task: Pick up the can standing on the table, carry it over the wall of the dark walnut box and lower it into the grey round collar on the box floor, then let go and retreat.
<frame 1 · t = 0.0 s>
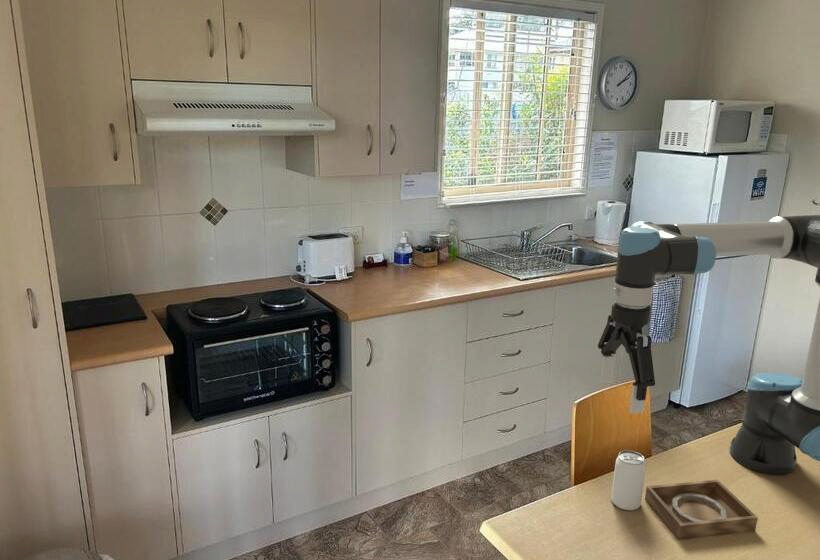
hand: (620, 397, 137), 28 cm above the table, fingers open, 13 cm apart
walled box: (697, 514, 143), on the table
can: (625, 503, 147), on the table
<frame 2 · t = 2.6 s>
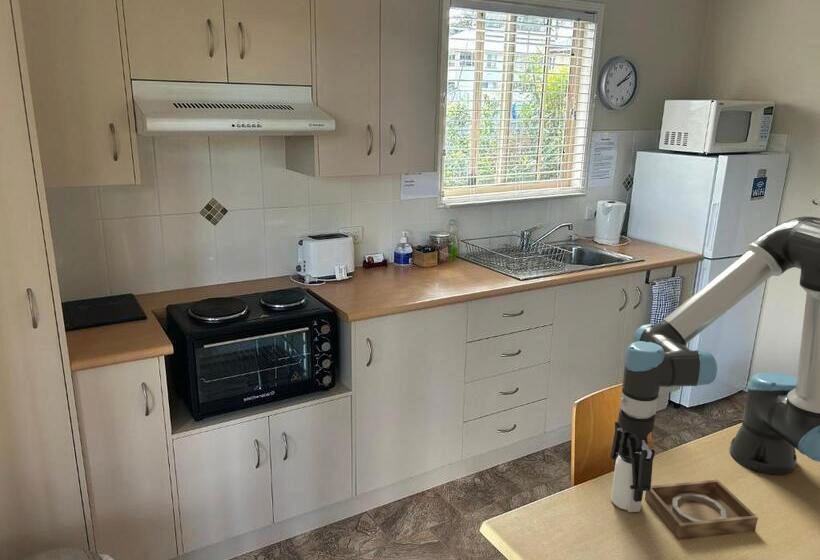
hand: (625, 500, 147), 0 cm above the table, fingers closed on can, 6 cm apart
can: (625, 503, 147), on the table, touching gripper
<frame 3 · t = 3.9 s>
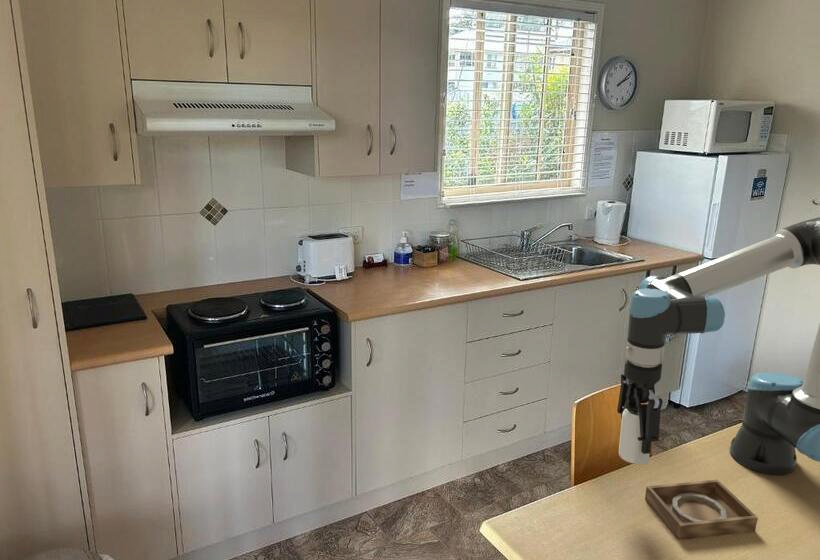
hand: (633, 454, 143), 13 cm above the table, fingers closed on can, 6 cm apart
can: (633, 457, 143), point 12 cm above the table, touching gripper
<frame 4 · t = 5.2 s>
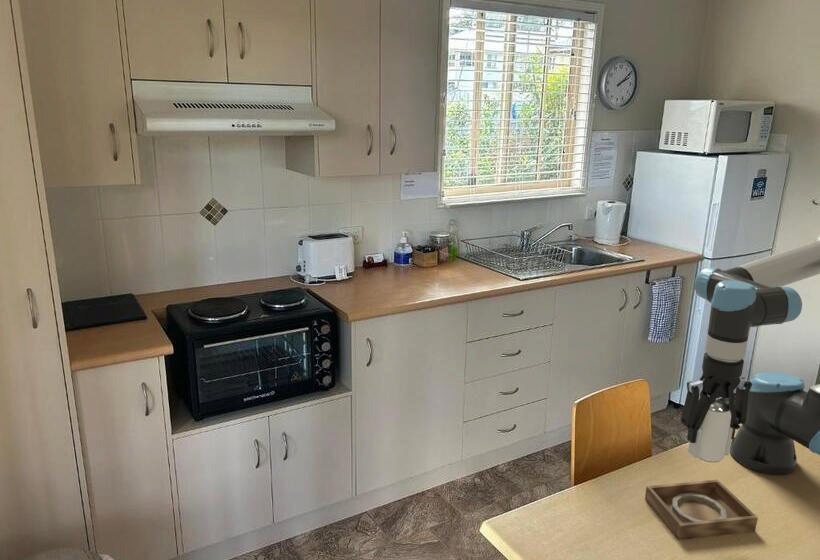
hand: (708, 453, 138), 16 cm above the table, fingers closed on can, 6 cm apart
can: (707, 455, 138), point 15 cm above the table, touching gripper
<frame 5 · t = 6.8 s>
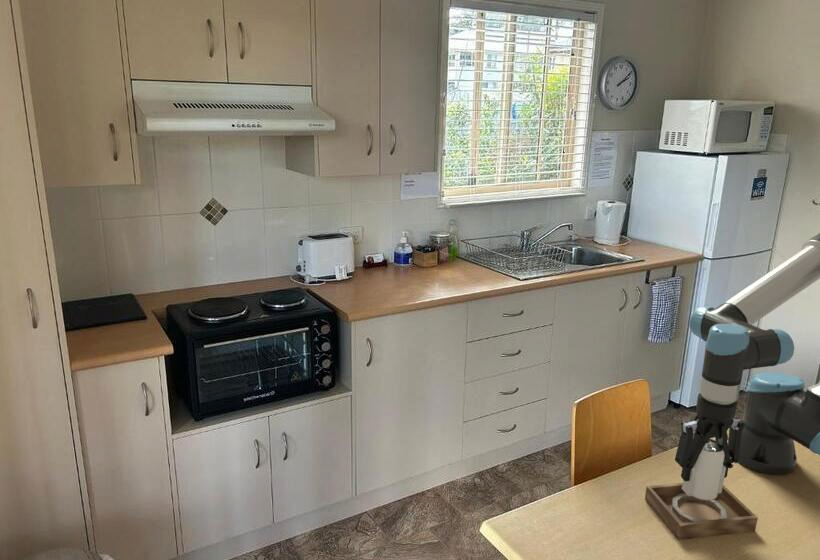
hand: (701, 490, 141), 6 cm above the table, fingers closed on can, 6 cm apart
can: (700, 493, 141), point 6 cm above the table, touching gripper
when the fingers open (3 cm above the table, at t = 7.8 s): can drops 2 cm, resting on walled box.
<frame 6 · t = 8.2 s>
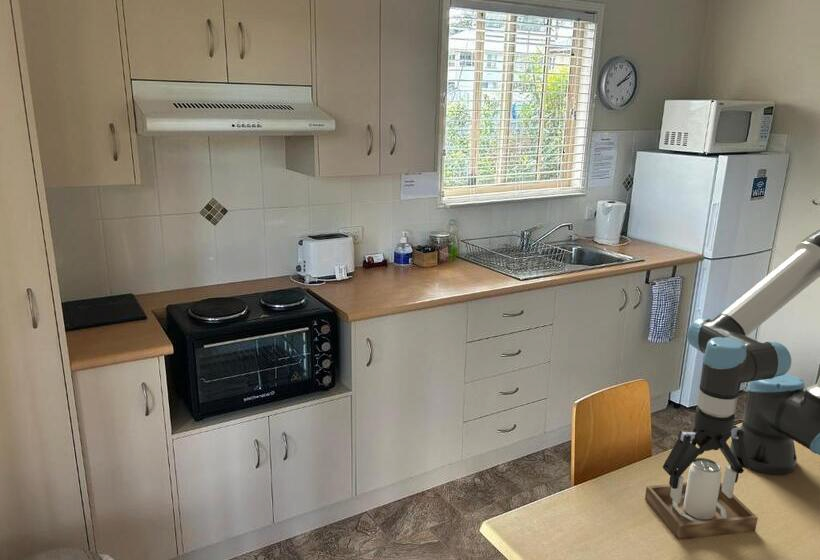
hand: (700, 497, 141), 5 cm above the table, fingers open, 12 cm apart
can: (698, 512, 143), resting on walled box
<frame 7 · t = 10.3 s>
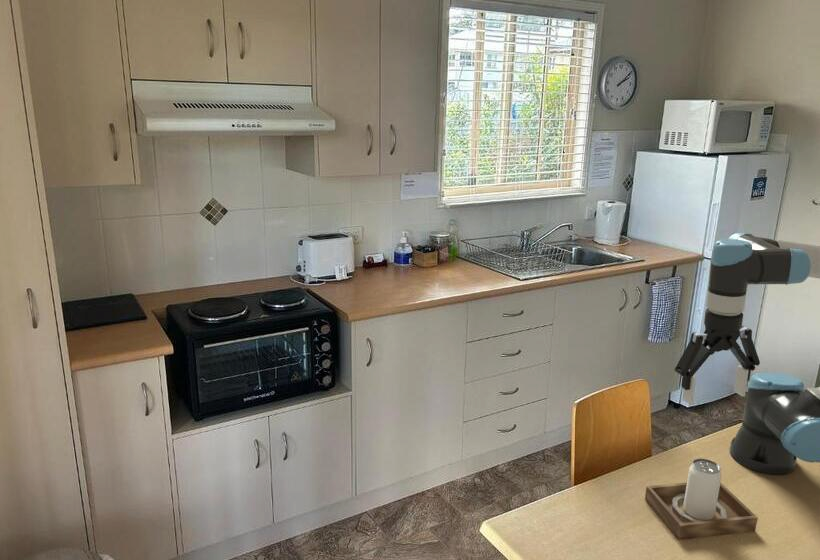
hand: (713, 397, 146), 24 cm above the table, fingers open, 13 cm apart
nothing on the table moved.
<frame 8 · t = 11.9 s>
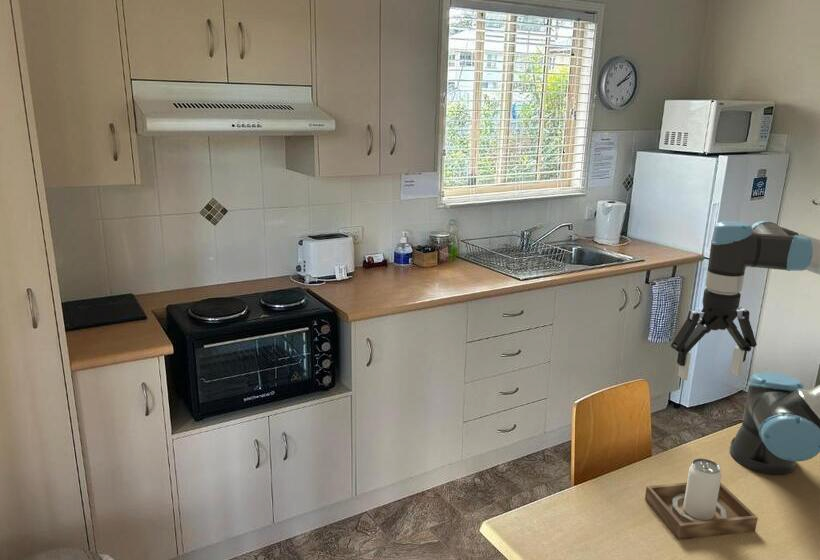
hand: (708, 376, 150), 27 cm above the table, fingers open, 13 cm apart
nothing on the table moved.
at the end: can 0.1 cm off-centre on the walled box, point 0.4 cm above the walled box's base; can tilted 0°; the gripper is holding nothing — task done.
